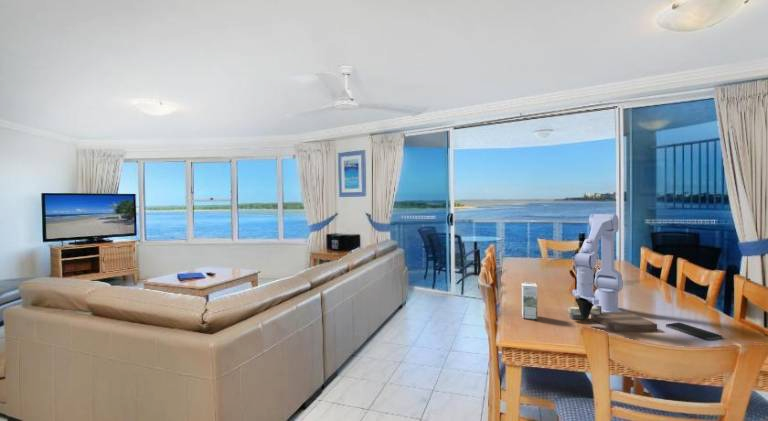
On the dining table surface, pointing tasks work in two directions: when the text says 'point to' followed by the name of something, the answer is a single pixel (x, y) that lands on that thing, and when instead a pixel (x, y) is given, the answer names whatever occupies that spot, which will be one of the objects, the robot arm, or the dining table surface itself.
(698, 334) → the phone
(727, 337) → the dining table surface
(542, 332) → the dining table surface
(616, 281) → the robot arm
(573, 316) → the stop block
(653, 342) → the dining table surface
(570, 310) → the folding leg
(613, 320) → the stool seat
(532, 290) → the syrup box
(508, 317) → the dining table surface
